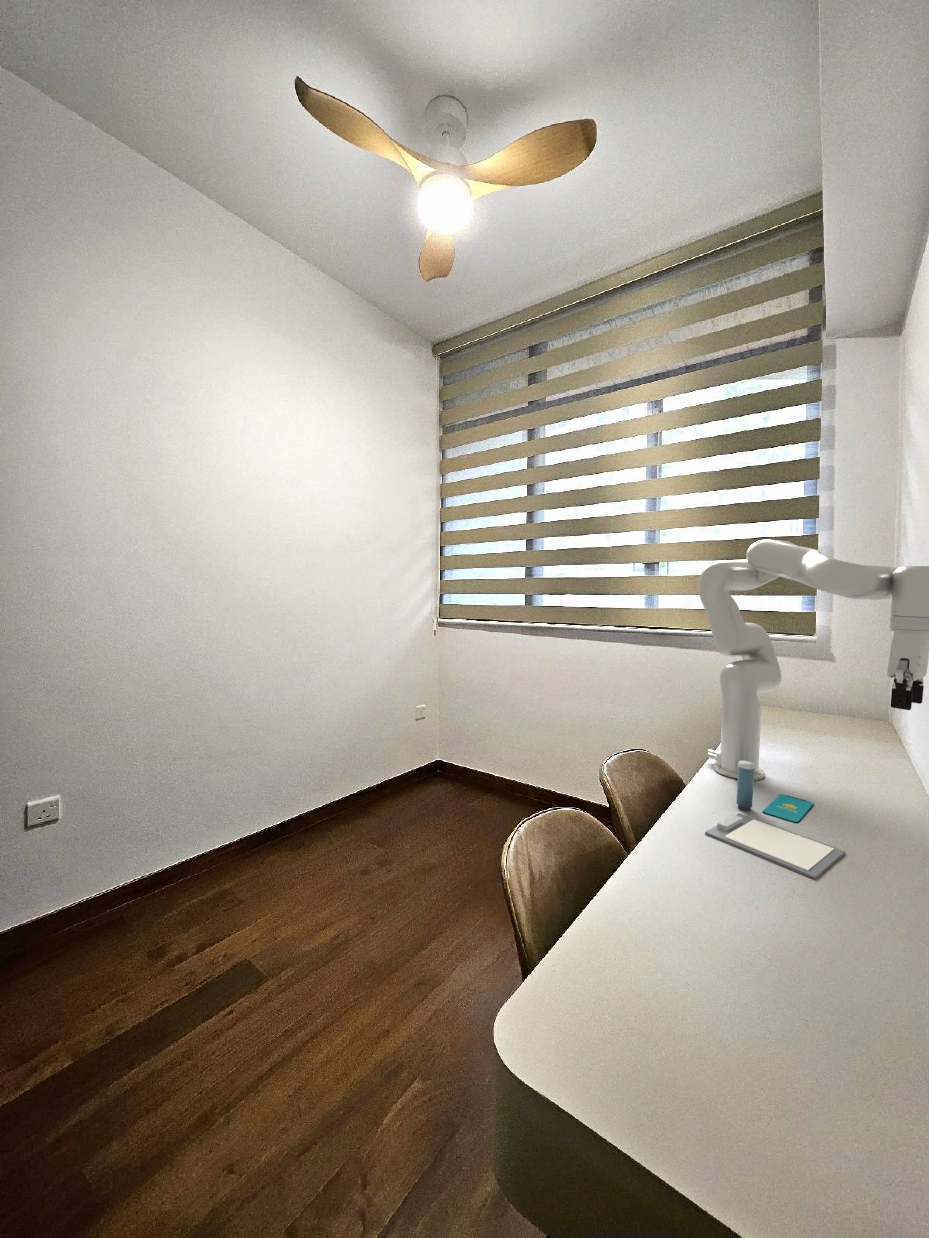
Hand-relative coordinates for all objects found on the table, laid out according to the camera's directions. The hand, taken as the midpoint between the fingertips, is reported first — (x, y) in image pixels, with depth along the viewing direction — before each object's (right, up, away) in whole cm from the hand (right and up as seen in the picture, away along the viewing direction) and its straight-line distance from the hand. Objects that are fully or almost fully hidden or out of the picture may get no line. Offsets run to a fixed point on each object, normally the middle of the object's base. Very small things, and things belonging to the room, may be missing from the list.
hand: (906, 705), depth 106 cm
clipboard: (-31, -27, -5) cm, 42 cm away
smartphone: (-17, -27, +12) cm, 34 cm away
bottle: (-28, -26, +11) cm, 40 cm away
